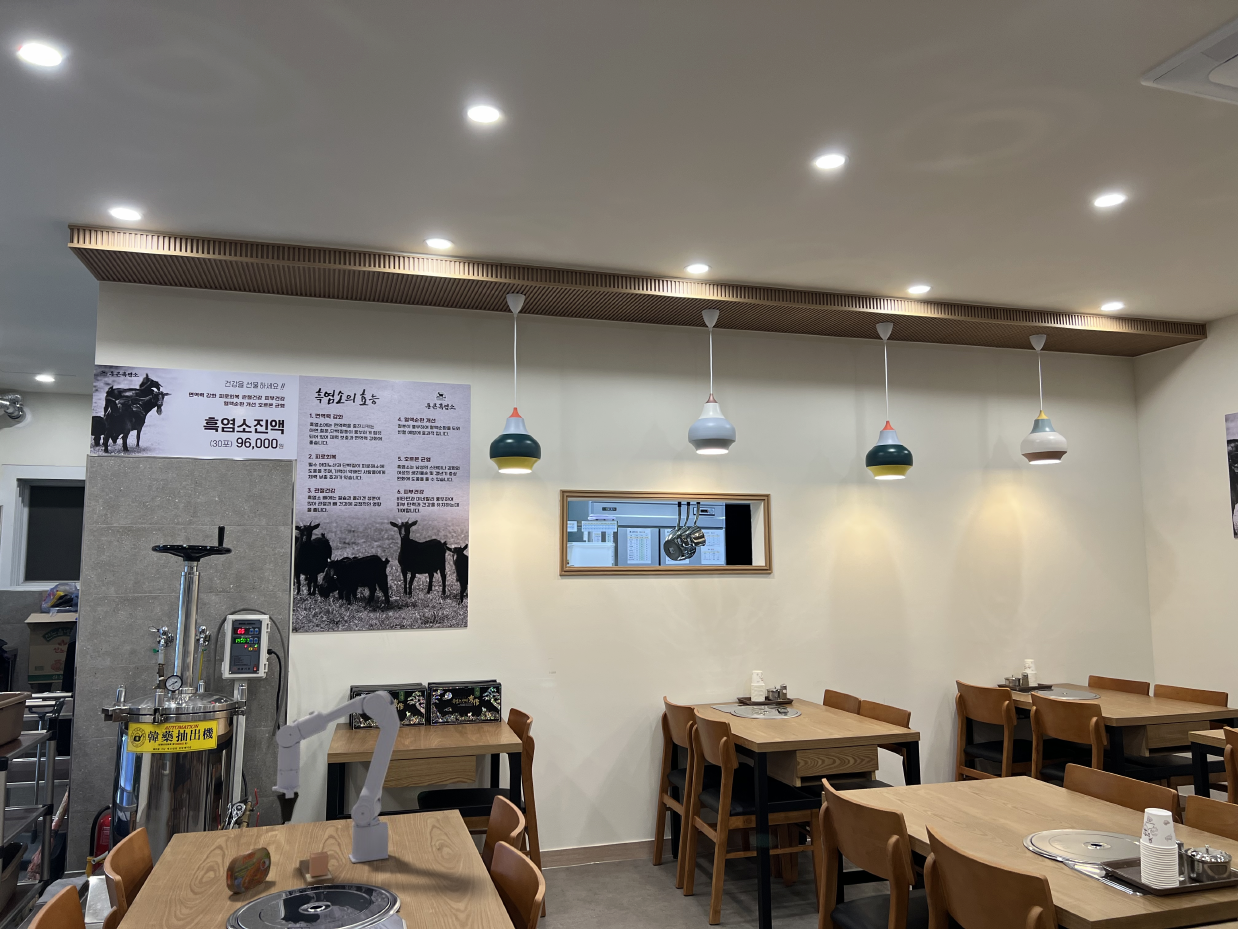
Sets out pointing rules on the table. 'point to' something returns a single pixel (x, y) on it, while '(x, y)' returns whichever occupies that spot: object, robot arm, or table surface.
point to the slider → (318, 864)
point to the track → (314, 879)
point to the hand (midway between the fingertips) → (286, 821)
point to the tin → (248, 870)
